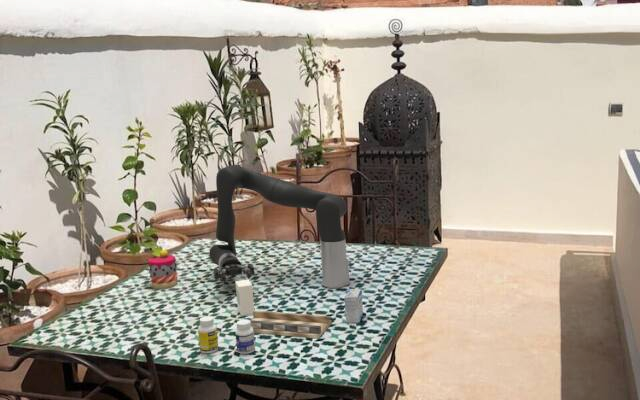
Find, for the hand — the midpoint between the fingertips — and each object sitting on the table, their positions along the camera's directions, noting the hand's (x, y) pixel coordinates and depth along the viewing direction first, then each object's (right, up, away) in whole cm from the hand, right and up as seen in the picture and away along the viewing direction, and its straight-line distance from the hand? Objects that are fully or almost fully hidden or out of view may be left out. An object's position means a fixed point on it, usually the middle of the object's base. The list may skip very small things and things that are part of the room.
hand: (237, 277), depth 236 cm
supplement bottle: (-3, -17, -39) cm, 42 cm away
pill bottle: (+8, -17, -41) cm, 45 cm away
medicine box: (+40, -11, -21) cm, 47 cm away
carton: (+4, -10, -9) cm, 14 cm away
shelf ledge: (+18, -13, -25) cm, 34 cm away
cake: (-31, -6, +25) cm, 41 cm away
